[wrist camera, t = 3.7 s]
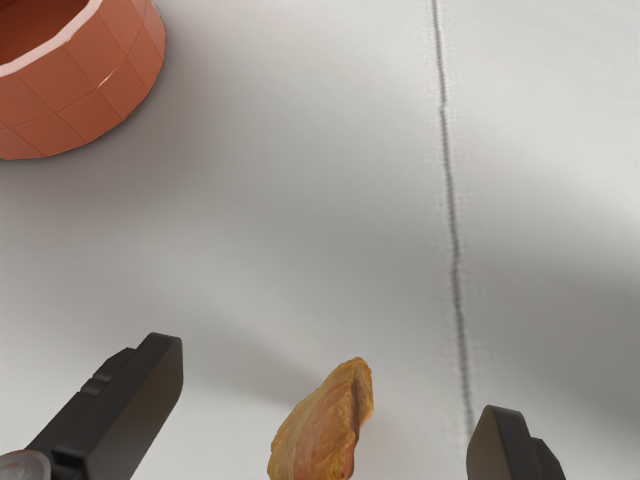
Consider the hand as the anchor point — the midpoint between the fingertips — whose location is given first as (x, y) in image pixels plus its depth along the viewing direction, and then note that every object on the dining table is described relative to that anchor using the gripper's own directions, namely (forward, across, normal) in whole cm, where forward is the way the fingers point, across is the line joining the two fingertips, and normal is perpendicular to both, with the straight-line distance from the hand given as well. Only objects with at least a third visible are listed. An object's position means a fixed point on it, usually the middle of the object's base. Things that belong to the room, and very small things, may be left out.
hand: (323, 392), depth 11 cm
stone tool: (+8, 0, +9) cm, 12 cm away
